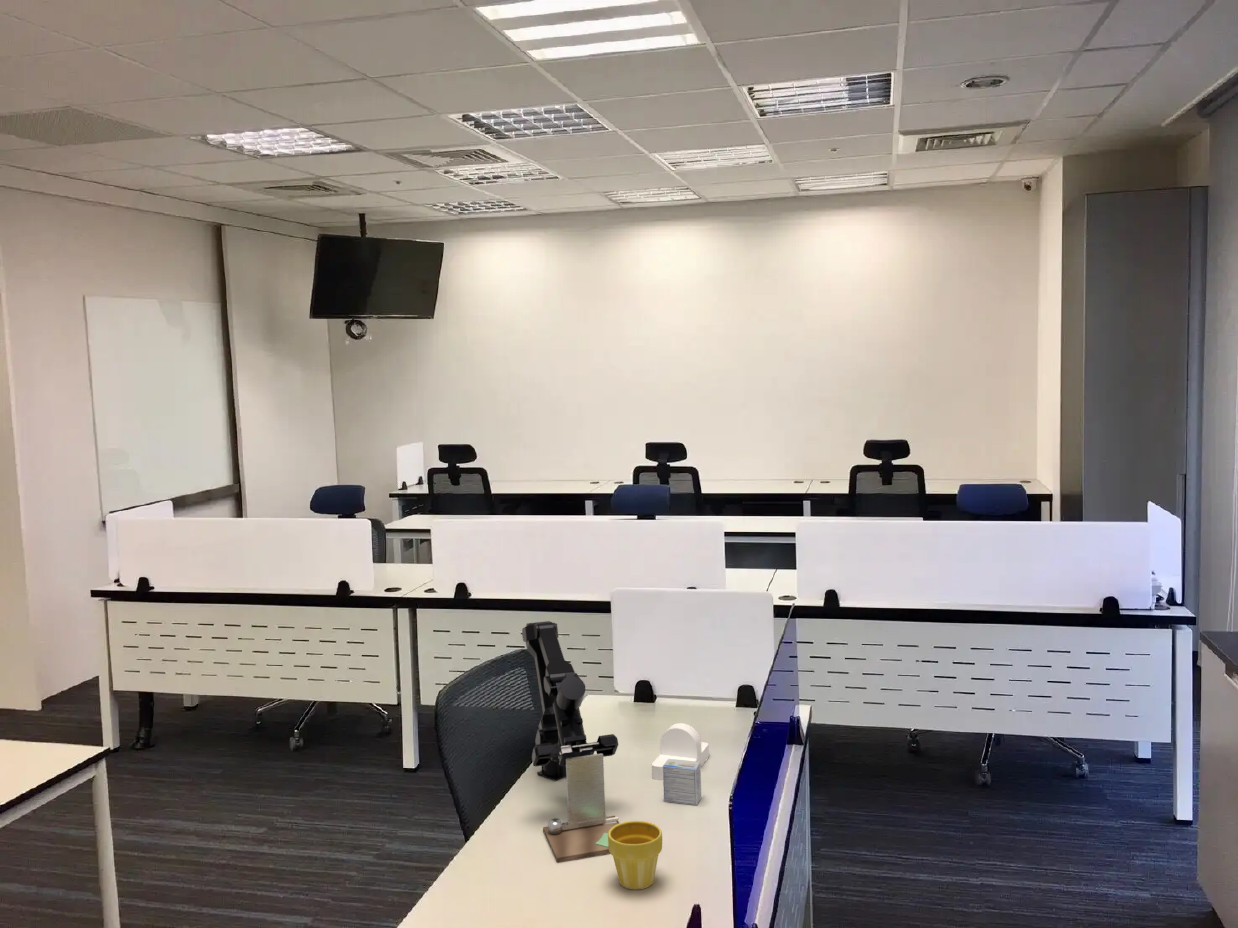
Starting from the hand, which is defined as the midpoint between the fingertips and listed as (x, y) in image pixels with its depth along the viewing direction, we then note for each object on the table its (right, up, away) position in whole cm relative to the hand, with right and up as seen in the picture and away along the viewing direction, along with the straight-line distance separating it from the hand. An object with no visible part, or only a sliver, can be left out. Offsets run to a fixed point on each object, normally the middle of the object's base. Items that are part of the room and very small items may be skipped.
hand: (582, 787), depth 206 cm
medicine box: (+22, -7, +12) cm, 26 cm away
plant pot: (+11, -11, -23) cm, 27 cm away
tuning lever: (0, -8, -2) cm, 8 cm away
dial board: (+1, -9, -6) cm, 11 cm away
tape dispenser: (+23, -6, +30) cm, 39 cm away
